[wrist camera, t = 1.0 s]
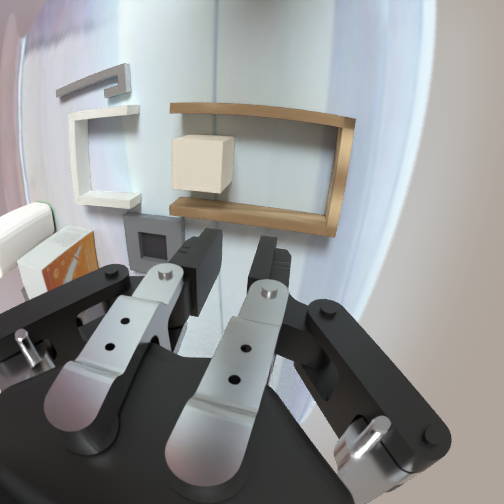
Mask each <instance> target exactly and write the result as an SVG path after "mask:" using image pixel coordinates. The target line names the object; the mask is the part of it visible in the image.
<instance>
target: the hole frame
mask: <svg viewBox="0 0 504 504" xmlns="http://www.w3.org/2000/svg"><path fill="white" fill-rule="evenodd" d="M123 218H124V227H125V236H126V244H127V251H128V258H129V265H130V270H135V271H140V272H145V273H148V271H149V270H150V269H151V268H152V267H154V266H156V265H159V264H164V263H168V262H169V261H170V259H171V258H172V257H173V256H174V254H175V253H176V252H177V251H178V249H179V248H180V247H181V246H182V245H183V243H184V242H185V237H184V219H183V218H174V217H166V216H157V215H148V214H140V213H130V212H127V213H126V214H124V215H123Z"/></svg>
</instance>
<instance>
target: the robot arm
mask: <svg viewBox="0 0 504 504" xmlns="http://www.w3.org/2000/svg"><path fill="white" fill-rule="evenodd" d="M276 244H277V238H276V237H269V236H261V238H260V241H259V244H258V248H257V251H256V254H255V257H254V260H253V263H252V266H251V269H250V273H249V276H248V284H247V296H246V298H245V300H244V303H243V305H242V307H241V309H240V312H239V314H238V316H237V317H236V316H232V317H231V319H230V321H229V323H228V325H227V327H226V330H225V332H224V334H223V336H222V338H221V340H220V342H219V345H218V347H217V349H216V351H215V353H214V355H213V357H212V358H191V357H182V356H179V355H177V354H178V351H179V348H180V346H181V343H182V340H183V337H184V335H185V332H186V329H187V319H188V317H189V315H191V316H196V317H198V316H199V314H200V312H201V310H202V307H203V305H204V303H205V301H206V299H207V297H208V295H209V293H210V291H211V289H212V287H213V284H214V282H215V280H216V278H217V276H218V274H219V272H220V268H221V262H222V230H218V229H211V228H205V230H204V231H203V232H202V234H201V235H200V236H199V237H192V238H190V239H188V240H186V241H185V242H184V243H183V245H182V246H181V247H180V248H179V249H178V251H177V252H176V253H175V254H174V256H173V257H172V258H171V259H170V261H169V262H168V263H164V264H159V265H156V266H154V267H152V268H151V269H150V270H149V271H148V273H147V274H146V275H145V276H129V271H128V268H127V267H126V266H124V265H121V264H111V265H107V266H104V267H102V268H99V269H97V270H95V271H92V272H90V273H88V274H85V275H83V276H81V277H79V278H76V279H74V280H72V281H70V282H67V283H65V284H63V285H61V286H58V287H56V288H54V289H52V290H50V291H47V292H45V293H43V294H41V295H39V296H37V297H35V298H32V299H30V300H28V301H26V302H24V303H22V304H20V305H18V306H16V307H13V308H11V309H10V310H7V311H5V312H3V313H1V314H0V389H1V393H0V504H367V503H369V502H370V501H372V500H373V499H375V498H377V497H378V496H380V495H382V494H383V493H385V492H390V491H392V490H394V489H396V488H398V487H400V486H401V485H403V484H404V483H406V482H408V481H409V480H411V479H412V478H414V477H415V476H417V475H418V474H420V473H421V472H423V471H424V470H426V469H427V468H428V467H430V466H431V465H433V464H434V463H435V462H437V461H438V460H440V459H441V458H442V457H444V456H445V455H446V454H447V452H448V451H449V449H450V446H451V434H450V431H449V429H448V427H447V426H446V425H445V423H444V422H443V421H442V420H441V418H440V417H439V416H438V415H437V414H436V412H435V411H434V410H433V409H432V408H431V406H430V405H429V404H428V403H427V402H426V401H425V399H424V398H423V397H422V396H421V395H420V393H419V392H418V391H417V390H416V389H415V388H414V386H412V384H411V383H410V382H409V381H408V379H407V378H406V377H405V376H404V375H403V373H402V372H401V371H400V370H399V369H398V368H397V367H396V366H395V364H394V363H393V362H392V361H391V360H390V359H389V357H388V356H387V355H386V354H385V353H384V352H383V351H382V350H381V348H380V347H379V346H378V345H377V344H376V343H375V342H374V340H373V339H372V338H371V337H370V336H369V335H368V334H367V333H366V331H365V330H364V329H363V328H362V327H361V326H360V325H359V324H358V323H357V321H356V320H355V319H354V318H353V317H352V316H351V315H350V314H349V313H348V312H347V310H346V309H345V308H344V307H343V306H342V305H340V304H339V303H337V302H335V301H332V300H327V299H319V300H315V301H313V302H311V303H310V304H309V306H308V305H305V304H303V303H300V302H298V301H297V300H295V299H294V298H293V297H292V296H291V295H290V293H289V290H288V287H289V276H290V265H291V255H290V253H289V252H288V250H285V249H278V248H276ZM101 302H102V304H103V308H104V311H105V314H104V315H102V316H100V317H98V318H96V319H94V320H93V321H91V322H89V323H87V324H85V325H83V326H81V327H77V324H76V318H77V316H78V315H79V314H80V313H81V312H83V311H85V310H87V309H89V308H91V307H93V306H95V305H97V304H99V303H101ZM277 354H278V355H280V356H282V357H285V358H287V359H289V360H292V361H294V367H295V369H296V371H297V372H298V374H299V375H300V377H301V379H302V380H303V382H304V384H305V385H306V387H307V389H308V390H309V392H310V393H311V395H312V397H313V398H314V400H315V401H316V403H317V405H318V406H319V408H320V409H321V411H322V413H323V414H324V416H325V417H326V419H327V421H328V422H329V424H330V425H331V427H332V428H333V430H334V432H335V433H336V435H337V436H338V438H339V440H338V441H337V443H336V445H335V447H334V458H335V460H336V463H337V466H338V473H337V474H336V473H335V472H334V470H333V469H332V468H331V466H330V465H329V464H328V463H327V461H326V460H325V459H324V457H323V456H322V455H321V453H320V452H319V451H318V449H317V448H316V447H315V446H314V444H313V443H312V442H311V440H310V439H309V438H308V436H307V435H306V433H305V432H304V431H303V429H302V428H301V427H300V425H299V424H298V423H297V421H296V420H295V418H294V417H293V416H292V414H291V413H290V411H289V410H288V409H287V407H286V406H285V404H284V403H283V402H282V400H281V399H280V397H279V396H278V395H277V393H276V392H275V391H274V390H273V389H272V388H271V387H270V386H269V382H270V378H271V374H272V370H273V367H274V363H275V359H276V355H277Z"/></svg>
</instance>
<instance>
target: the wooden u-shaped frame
mask: <svg viewBox="0 0 504 504" xmlns="http://www.w3.org/2000/svg"><path fill="white" fill-rule="evenodd" d="M170 113H206V114H231V115H247V116H260V117H270V118H280V119H288V120H296V121H304V122H311V123H317V124H324V125H330V126H335V127H338V134H337V141H336V148H335V155H334V162H333V168H332V175H331V181H330V187H329V193H328V199H327V204H326V210H325V215H320V214H313V213H307V212H300V211H293V210H286V209H279V208H271V207H264V206H256V205H248V204H240V203H232V202H223V201H214V200H205V199H196V198H186V197H180V198H178V199H177V200H176V201H175V202H173V203H172V204H171V205H170V206H169V211H170V215H173V216H182V217H190V218H198V219H206V220H214V221H222V222H230V223H238V224H245V225H252V226H260V227H267V228H274V229H281V230H288V231H295V232H302V233H309V234H315V235H322V236H328V237H335V235H336V231H337V226H338V221H339V216H340V211H341V206H342V201H343V196H344V190H345V185H346V179H347V173H348V167H349V161H350V155H351V148H352V142H353V135H354V128H355V120H356V119H354V118H349V117H343V116H338V115H332V114H326V113H320V112H314V111H307V110H300V109H292V108H283V107H273V106H262V105H249V104H232V103H170Z"/></svg>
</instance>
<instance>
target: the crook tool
mask: <svg viewBox="0 0 504 504" xmlns="http://www.w3.org/2000/svg"><path fill="white" fill-rule="evenodd" d="M116 76H118V85H117V86H114V87H110V88H107V89H104V96H105V98H110V97H113V96H117V95H120V94H124V93H127V92H131V80H130V64H127V63H124V64H121V65H118V66H115V67H112V68H109V69H106V70H103V71H101V72H98V73H95V74H93V75H90V76H88V77H85V78H83V79H80V80H78V81H76V82H73V83H71V84H69V85H67V86H64V87H62V88H60V89H58V90H56V98H57V97H63V96H65V95H68V94H70V93H72V92H75V91H77V90H80V89H82V88H85V87H87V86H90V85H93V84H95V83H98V82H101V81H104V80H107V79H110V78H113V77H116Z"/></svg>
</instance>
